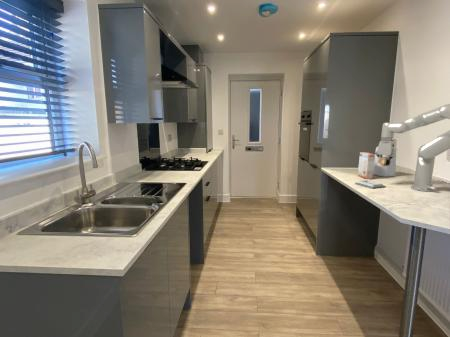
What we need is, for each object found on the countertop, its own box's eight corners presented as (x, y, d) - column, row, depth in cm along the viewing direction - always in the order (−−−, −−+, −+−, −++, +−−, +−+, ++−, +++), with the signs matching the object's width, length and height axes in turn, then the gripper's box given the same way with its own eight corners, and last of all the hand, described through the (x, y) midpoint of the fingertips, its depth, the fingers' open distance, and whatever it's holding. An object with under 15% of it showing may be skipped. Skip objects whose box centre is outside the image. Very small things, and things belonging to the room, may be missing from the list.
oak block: (390, 165, 193) (391, 157, 192) (383, 166, 188) (384, 158, 187) (383, 164, 197) (384, 156, 196) (377, 165, 192) (378, 157, 191)
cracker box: (372, 179, 212) (375, 154, 208) (365, 179, 212) (368, 154, 208) (364, 175, 226) (366, 152, 222) (357, 175, 226) (359, 152, 222)
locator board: (385, 187, 186) (386, 183, 186) (371, 188, 182) (372, 185, 182) (368, 182, 200) (368, 179, 200) (355, 184, 196) (355, 180, 196)
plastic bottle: (383, 177, 219) (387, 144, 214) (369, 174, 234) (372, 143, 229) (397, 176, 223) (401, 144, 218) (382, 173, 238) (386, 142, 232)
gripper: (402, 140, 184) (398, 165, 187) (377, 138, 198) (375, 162, 201) (396, 140, 180) (393, 166, 183) (372, 139, 194) (369, 163, 198)
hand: (383, 164), depth 192 cm, fingers closed on oak block, 4 cm apart
